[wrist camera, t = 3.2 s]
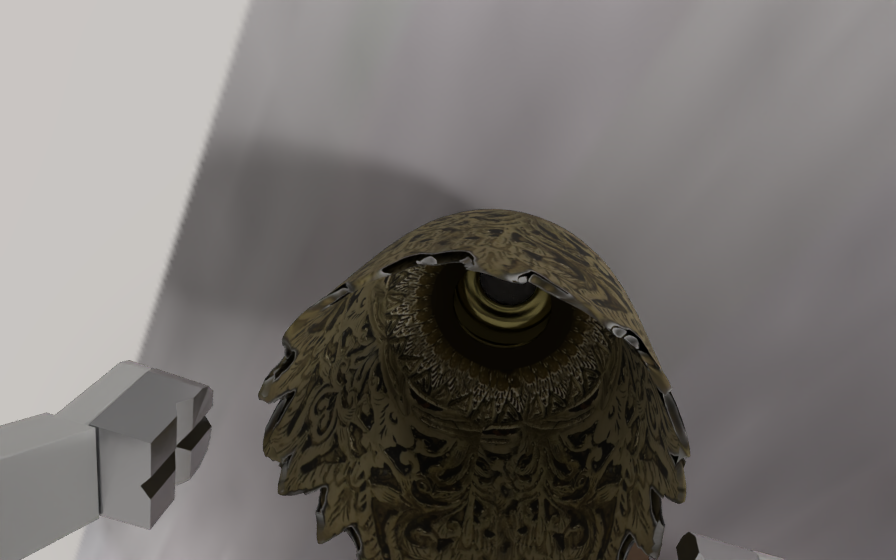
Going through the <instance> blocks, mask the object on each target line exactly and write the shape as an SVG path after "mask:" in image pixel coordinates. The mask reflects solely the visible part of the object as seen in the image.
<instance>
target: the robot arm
mask: <svg viewBox="0 0 896 560" xmlns="http://www.w3.org/2000/svg"><path fill="white" fill-rule="evenodd" d="M212 406H213V390H212V389H211V388H210V387H209V386H208V385H205V384H201V383H198V382H195V381H192V380H189V379H186V378H183V377H180V376H177V375H174V374H171V373H168V372H165V371H162V370H159V369H154V368H151V367H148V366H145V365H142V364H139V363H136V362H133V361H130V360H128V361H124V362H120V363H119V364H118V365H116V366H115V367H114V368H112V369H111V370H110V371H109V372H108V373H106V374H105V375H104V376H103V377H101V378H100V379H99V380H98V381H97V382H95V383H94V384H93V385H92V386H90V387H89V388H88V389H87V390H85V391H84V392H83V393H82V394H80V395H79V396H78V397H77V398H76V399H74V400H73V401H72V402H71V403H69V404H68V405H67V406H66V407H64V408H63V409H62V410H61V411H59V412H58V413H57V414H56V415H53V414H49V413H43V414H40V415H36V416H33V417H30V418H26V419H22V420H19V421H16V422H12V423H8V424H5V425H1V426H0V560H21V559H23V558H25V557H27V556H29V555H31V554H32V553H34V552H36V551H38V550H40V549H42V548H44V547H46V546H48V545H50V544H51V543H53V542H55V541H57V540H59V539H61V538H63V537H65V536H67V535H69V534H70V533H72V532H74V531H76V530H78V529H80V528H82V527H84V526H86V525H88V524H89V523H91V522H93V521H95V520H97V519H99V515H100V516H104V517H107V518H110V519H114V520H117V521H121V522H124V523H128V524H131V525H135V526H138V527H142V528H145V529H149V530H150V529H151V528H152V527H153V526H154V524H155V523H156V522H157V521H158V519H159V518H160V517H161V516H162V514H163V513H164V512H165V511H166V509H167V508H168V507H169V506H170V504H171V503H172V502H173V500H174V498H175V486H176V485H178V484H181V483H183V482H185V481H188V480H190V479H191V477H192V476H193V475H194V473H195V472H196V471H197V469H198V468H199V467H200V465H201V462H202V460H203V458H204V456H205V454H206V452H207V450H208V446H209V442H210V438H211V427H212V426H211V425H210V423H209V421H208V420H207V418H206V416H205V414H206V413H207V412H208V411H209V410H210V409H211V407H212ZM676 549H677V555H678V560H784V559H783V558H779V557H776V556H772V555H769V554H765V553H762V552H758V551H755V550H749V549H746V548H743V547H739V546H736V545H733V544H729V543H726V542H723V541H719V540H716V539H712V538H709V537H706V536H702V535H699V534H695V533H692V532H688V533H686V534H685V535H684V536H683V537H682V538H681V540H680V542H679V543H678V545H677V547H676Z"/></svg>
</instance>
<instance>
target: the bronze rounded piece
mask: <svg viewBox="0 0 896 560" xmlns="http://www.w3.org/2000/svg"><path fill="white" fill-rule="evenodd" d="M480 272H482V273H485V274H488V275H492V276H494V277H497V278H499V279H502V280H505V281H509V282H513V283H518V284H523V283H526V282H530V283H532V284H533V285H535V286H537V287H536V290H535V292H534V293H533V295H532V296H531V297H530V298H529V299H528V300H527V301H525V302H523V303H521V304H518V305H512V306H508V305H502V304H499V303H496V302H494V301H493V300H491V299H490V298H489V297H488V296H487V295H486V294H485V293H484V291H483V290H482V288H481V285H480ZM282 345H283V346H284V347H285V356H284V358H283V359H282V360H281V361H280V363H279V364H278V365H277V366H276V367H275V368H273V369H272V371H271V372H270V373H269V375H268V376H267V377H266V378H265V380H264V382H263V385H262V387H261V389H260V391H259V393H258V397H259V400H263V401H265V402H266V403H268V404H270V403H272V402H274V403H275V402H276V401H277V400H279V399H281V400H280V401H279V403H278V405H277V406H276V408H275V410H274V412H273V414H272V416H271V418H270V420H269V422H268V424H267V426H266V428H265V434H264V439H263V451H264V454H265V456H266V457H269V458H270V459H271V460H272V461H275V460H276V461H278V462H280V463H279V467H281V468H282V469H281V474H280V479H279V483H278V494H279V495H282V496H286V495H288V496H292V495H297V494H301V493H304V494H305V495H307V494H309V493H312V492H315V491H317V490H319V489H320V496H319V503H318V507H317V510H316V512H315V513H316V518H317V541H318V544H323V543H325V542H327V541H329V540H331V539H332V538H333V537H335V536H337V535H339V534H340V533H342V532H343V531H344V530H345V531H344V532H347V533H348V535H349V536H350V537H351V539H352V540H353V542H354V544H355V546H356V548H357V554H356V555H357V560H627V556H628V554H629V551H630V549H631V547H632V546H633V544H634V543H636V545H637V547H638V548H639V549H642V551H643V552H644V553H645V554H646V555H648V556H650V557H652V558H653V557H654V559H656V560H657V559H658V557H659V555H660V549H661V546H662V538H663V533H664V528H665V524H664V520H663V516H662V509H661V498H664V495H665V496H666V497H667V498H668V499H669V500H671V501H672V502H675V503H677V504H681V503H683V502H685V498H686V480H685V475H684V469H683V468H684V465H685V462H686V461H685V459H684V458H687V457H689V456H690V447H689V442H688V438H687V434H686V431H685V427H684V424H683V421H682V418H681V416H680V413H679V410H678V407H677V405H676V402H675V400H674V398H673V396H672V394H671V390H672V387H671V385H670V383H669V381H668V379H667V377H666V376H665V374H664V373H663V371H662V369H661V366H660V364H659V362H658V359H657V357H656V355H655V353H654V350H653V348H652V346H651V344H650V341H649V339H648V337H647V335H646V332H645V330H644V328H643V326H642V324H641V321H640V319H639V317H638V315H637V313H636V311H635V309H634V307H633V305H632V304H631V302H630V300H629V298H628V296H627V294H626V292H625V290H624V289H623V287H622V286H621V284H620V283H619V281H618V280H617V278H616V277H615V276H614V274H613V273H612V271H611V270H610V268H609V267H608V266H607V265H606V264H605V263H604V261H603V260H602V259H601V258H600V257H599V256H598V255H597V254H596V253H595V252H594V251H593V250H592V249H591V248H589V247H588V246H587V245H586V244H585V243H584V242H583V241H582V240H580V239H579V238H577V237H576V236H575V235H573V234H572V233H570V232H569V231H567V230H565V229H563V228H562V227H560V226H558V225H556V224H554V223H552V222H549V221H547V220H545V219H542V218H540V217H536V216H533V215H530V214H527V213H522V212H516V211H511V210H500V209H480V210H472V211H465V212H461V213H457V214H453V215H449V216H445V217H442V218H439V219H436V220H434V221H431V222H429V223H427V224H425V225H423V226H421V227H419V228H417V229H415V230H413V231H412V232H410V233H408V234H406V235H405V236H403V237H402V238H400V239H399V240H397V241H396V242H394V243H393V244H392V245H390V246H389V247H387V248H386V249H384V250H383V251H382V252H380V253H379V254H378V255H376V256H375V257H374V258H373V259H371V260H370V261H369V262H368V263H366V264H365V265H364V266H363V267H361V268H360V269H359V270H358V271H356V272H355V273H354V274H353V275H351V276H350V277H349V278H348V279H347V280H345V281H344V282H343V283H342V284H341V285H339V286H338V287H337V288H336V289H335V290H334V291H332V292H331V293H330V294H328V295H327V296H326V297H324V298H322V299H321V300H320V301H318V302H317V303H315V304H314V305H313V306H311V307H310V308H309V309H307V310H306V311H305V312H304V313H302V314H301V315H300V316H299V317H298V318H297V319H296V320H295V321H294V323H293V324H292V325H291V326H290V327H289V329H288V330H287V331H286V332H285V334H284V336H283V339H282Z"/></svg>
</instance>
